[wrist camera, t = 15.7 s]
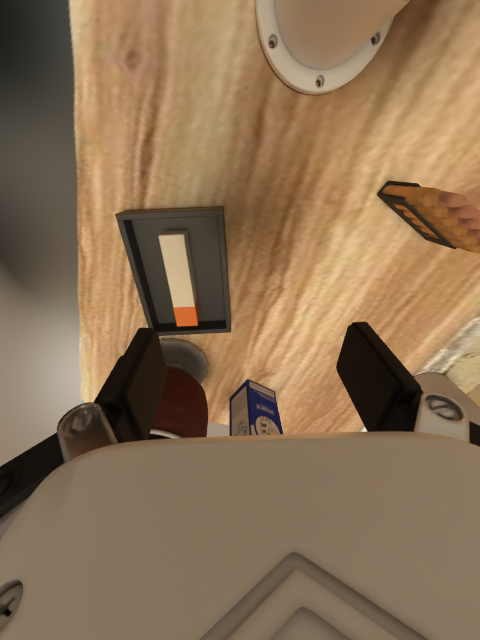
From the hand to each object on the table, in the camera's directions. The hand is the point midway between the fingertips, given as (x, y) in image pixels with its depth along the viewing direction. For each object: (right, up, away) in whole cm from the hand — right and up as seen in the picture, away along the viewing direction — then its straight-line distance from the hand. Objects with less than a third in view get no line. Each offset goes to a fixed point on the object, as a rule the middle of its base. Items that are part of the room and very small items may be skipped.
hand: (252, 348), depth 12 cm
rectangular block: (-9, +8, +22) cm, 25 cm away
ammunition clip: (+22, +16, +19) cm, 33 cm away
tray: (-9, +8, +22) cm, 25 cm away
